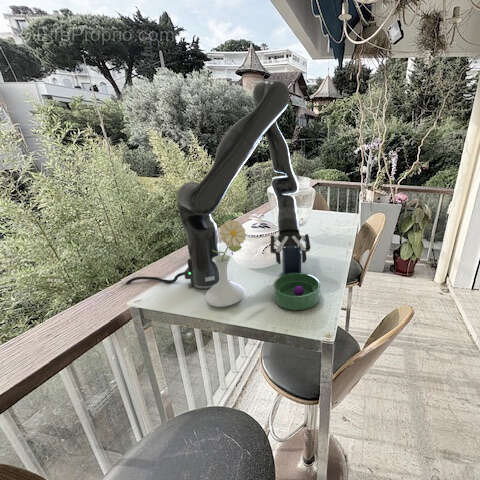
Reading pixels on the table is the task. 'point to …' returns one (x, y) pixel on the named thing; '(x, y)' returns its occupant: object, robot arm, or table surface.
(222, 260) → the flower in vase
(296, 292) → the ball
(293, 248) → the dark blue block
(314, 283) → the bowl
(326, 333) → the table surface
